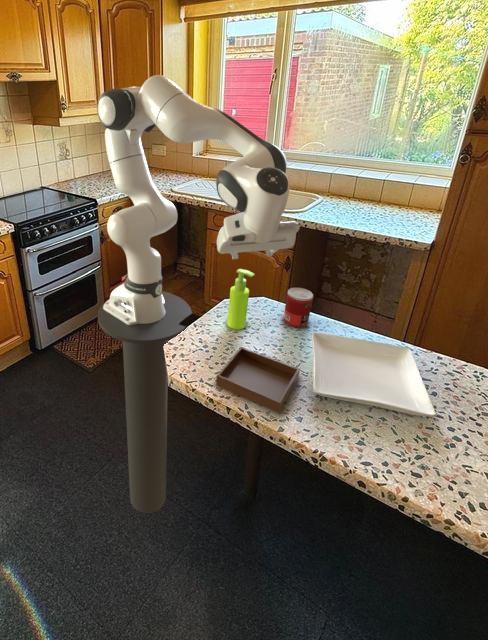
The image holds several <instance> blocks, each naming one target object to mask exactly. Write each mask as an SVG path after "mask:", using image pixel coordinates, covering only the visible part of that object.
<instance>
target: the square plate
mask: <svg viewBox="0 0 488 640" xmlns="http://www.w3.org/2000/svg"><path fill="white" fill-rule="evenodd" d="M310 334H311V335H310V337H311V339H310V340H311V350H312V351H311V352H312V392H313V393H314V394H316V395H319V396H321V397H325V398H329V399H333V400H339V401H344V402H350V403H355V404H361V405H366V406H372V407H377V408H381V409H385V410H390V411H393V412H398V413H402V414H403V413H404V414H407V415H412V416H417V417H425V418H434V417H436V416H437V412H436V410H435V407H434V404H433V402H432V400H431V397H430V395H429V392H428V390H427V387H426V385H425V382H424V380H423V378H422V374H421V373H420V370H419V367H418V364H417V362H416V359H415V356H414V354H413V351H412V350H411V349H410V348H409V347H405V346H400V345H395V344H389V343H385V342H379V341H375V340H367V339H362V338H356V337H350V336H349V337H348V336H344V335H343V336H342V335H337V334H330V333H321V332H315V331H313V332H311V333H310Z"/></svg>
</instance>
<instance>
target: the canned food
mask: <svg viewBox="0 0 488 640" xmlns="http://www.w3.org/2000/svg"><path fill="white" fill-rule="evenodd" d="M313 300H314V294H313V293H312V291H310V290H308V289H307V288H303V287H290V288H289V289H288V290H287V293H286V300H285V305H284V311H283V321H284V323H285V324H286V325H287V326H289V327H292V328H299V329H300V328H304V327H306V326H307V325H308V323H309V319H310V315H311V310H312V304H313Z"/></svg>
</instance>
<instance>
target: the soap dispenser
mask: <svg viewBox="0 0 488 640" xmlns="http://www.w3.org/2000/svg"><path fill="white" fill-rule="evenodd" d="M235 273H237V274H238V276H237V277H236V278H235V281H234V285H233V286H231V287H230V290H229V291H230V292H229V299H228V300H229V301H228V311H227V312H228V313H227V322H226V324H227V327H229V328H230V329H233V330H243V329H244V328H245V327H246V324H247V323H246V322H247V314H248V305H249V296H250V289H249V288H248V287H247V279H246V278H245V275H246V276H248V277H249V278H252V277H253V276H255V275H256V274H255V273H254V272H251V271H250V270H247V269H243V268H238V269H237V270H236V272H235Z"/></svg>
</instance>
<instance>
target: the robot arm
mask: <svg viewBox="0 0 488 640" xmlns="http://www.w3.org/2000/svg"><path fill="white" fill-rule="evenodd" d="M96 112H97V113H96V114H97V117H98V119H99V121H100V123H101V125H102V126H103V127H104V128H105V130H104V143H105V149H106V155H107V159H108V163H109V168H110V171H111V175H112V178H113V181H114V182H113V183H114V186H115V188H116V189H117V191H119V192H120V193H122V194H124V195H126V196H127V197H128V198H130V200H131V202H132V203H133V205H132V206H129V207H125V208H122V209H120V210H119V211H116V212H114V213H113V214H112V215H110V216H109V218H108V220H107V224H106V225H107V226H106V230H107V231H106V232H107V234H108V237H109V238H110V239H111V241H112V242H113V243H115V244H116V245H118V246H119V247H120V248H121V249H122V250H123V252H124V254H125V257H126V266H127V267H126V268H127V273H126V274H125V275H124V276H122V277H121V281H122V282H121V284H120V285H119V286H116V287H115V288H114V289H113V290H112V291H111V293H110V295H109V299H107V300H108V301H107V300H106V301H107V302H106V301H105V302H106V303H105V302H104V303H105V304H104V303H103V304H104V306H103V309H104V310H105V311H107V312H108V313H110V314H111V315H113V316H115V317H116V318H118V319H119V320H121V321H123V322H124V323H126V324H127V325H135V324H148V323H154V322H157V321H159V320H161V319H162V318H163V317H164V316H165V313H166V311H165V308H164V304H163V303H164V299H163V296H162V291H163V275H162V256H161V253H160V252H159V251H158V250H157V249H156V248H153V247H151V241H150V240H151V238H153V237H156V236H158V235H161V234H164V233H166V232H168V231H169V230H171V229H172V228H173V227H174V226H175V225H176V224H177V222H178V217H179V216H178V210H177V208H176V206H175V205H174V203H173V202H172V201H171V200H168V199H167V198H165V196H163V195H162V193H161V192H160V191H159V190H158V188H157V186H156V185H155V182H154V180H153V179H152V176H151V172H150V170H149V165H148V162H147V158H146V154H145V151H144V146H143V144H142V135H143V134H144V133H143V132H146V133H151V131H153V129H154V128H155V127H157V128H158V129H159V130H160V132H161V133H163V135H164V136H165V137H166V138H168V139H169V140H171V141H172V142H173V143H177V144H192V143H195V142H199V141H207V140H217V141H221V142H224V143H226V144H227V145H229V146H230V147H231V148H232V149H234V151H236V152H238V153H239V154H240V155H242V157H240V158H238V159H236V160H234V161H233V162H231V163H229V164H228V165H227V166H225V167H223V168H222V169H220V170H218V173H217V175H216V179H215V180H216V181H215V184H216V185H215V187H216V192H217V196H218V197H219V199H220V200H221V201H222V202H223V203H224V204H225V205H226V206H228V207H229V208H231V209H233V210H235V211H238V212H239V213H236V214H232V215H229V216H226V217H224V219H223V226H222V227H221V228H220V229H219V231H218V234H217V237H216V248H217V249H216V250H217V252H218V253H219V254H221V255H224V254H230V256H231V260H238V259H239V253H249V252H260V251H262V252H263V251H264V252H265V253H264V254H265V257H268V258H269V257H273V255H274V254H275V253H276V252H278V251H279V250H286V249H291V248H292V247H294V246H295V244H296V239H297V238H296V237H297V233H298V232H299V230H300V228H301V225H300V224H299V223H298V222H296V221H282V216H283V214H284V212H285V210H286V206H287V203H288V200H289V196H290V182H289V178H288V176H287V175H286V172H287V158H286V155H285V154H284V152H283V151H282V150H281V149H280V148H279V147H278V146H276V145H275V144H273V143H271V142H269V141H266V140H264V139H262V138H261V137H259V136H258V135H257V134H255V133H254V132H253V131H251V130H250V129H249V128H247V127H245V125H243V124H241V123H240V122H239V121H238V120H237V119H235V118H233V116H230V114H227V112H224V111H223V110H221V109H219V108H215V107H210V106H208V105H205V104H203V103H201V102H199V101H197V100H195V99H194V98H192V96H190V95H189V94H188V93H187V92H186V91H185V90H184V89H183V88H182V87H181V86H179V84H177V83H176V82H174V81H173V80H171V79H170V78H168V77H167V76H165V75H162V74H156V75H152V76H150V77H149V78H147V79H146V80H145V81H144V82H143V84H142V85H141V86H130V87H122V88H117V87H116V88H115V87H114V88H111V89H108V90H106V91H103V92H102V93H101V94H100V96H99V98H98V100H97V105H96Z"/></svg>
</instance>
